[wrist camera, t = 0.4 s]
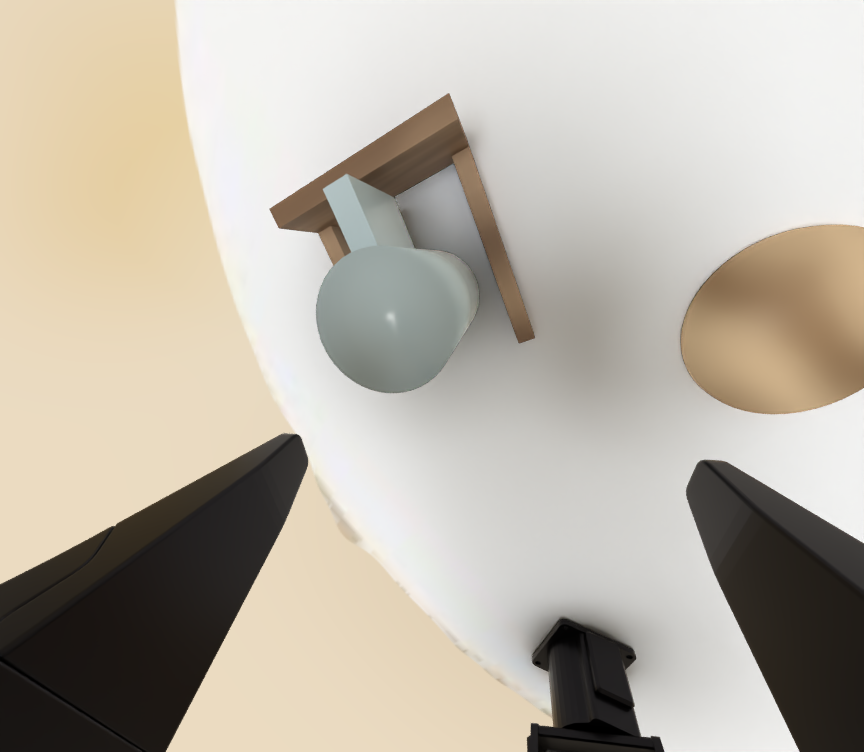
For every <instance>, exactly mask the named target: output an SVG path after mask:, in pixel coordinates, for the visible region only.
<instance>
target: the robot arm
mask: <svg viewBox="0 0 864 752" xmlns="http://www.w3.org/2000/svg"><path fill="white" fill-rule="evenodd" d="M307 466H308V457H307V454H306V451H305V448H304V445H303V442H302V439H301V437H300V436H299V435H297V434H287V433H285V434H281V435H279V436H277V437H275V438H273V439H272V440H270V441H268V442H266V443H264V444H262V445H260V446H259V447H257V448H255V449H253V450H251V451H249V452H248V453H246V454H244V455H242V456H240V457H238V458H237V459H235V460H233V461H231V462H229V463H228V464H226V465H224V466H222V467H220V468H218V469H216V470H215V471H213V472H211V473H209V474H207V475H205V476H203V477H202V478H200V479H198V480H196V481H194V482H193V483H191V484H189V485H187V486H185V487H183V488H181V489H180V490H178V491H176V492H174V493H172V494H170V495H169V496H167V497H165V498H163V499H161V500H159V501H158V502H156V503H154V504H152V505H150V506H148V507H147V508H145V509H143V510H141V511H139V512H137V513H135V514H134V515H132V516H130V517H128V518H126V519H124V520H123V521H121V522H119V523H117V524H116V526H112V527H110V528H108V529H106V530H104V531H102V532H100V533H99V534H97V535H95V536H93V537H92V538H89V539H88V540H86V541H84V542H82V543H80V544H78V545H76V546H74V547H72V548H71V549H69V550H67V551H65V552H63V553H61V554H59V555H58V556H56V557H54V558H52V559H50V560H48V561H46V562H44V563H42V564H40V565H38V566H36V567H34V568H32V569H30V570H28V571H26V572H24V573H22V574H20V575H18V576H16V577H14V578H12V579H10V580H8V581H6V582H4V583H2V584H0V752H166V750H167V748H168V746H169V744H170V742H171V740H172V739H173V737H174V735H175V733H176V731H177V729H178V727H179V725H180V723H181V721H182V719H183V717H184V716H185V714H186V712H187V710H188V707H189V706H190V704H191V702H192V700H193V698H194V696H195V694H196V692H197V691H198V688H199V687H200V685H201V683H202V681H203V679H204V677H205V675H206V673H207V671H208V669H209V667H210V665H211V664H212V662H213V660H214V658H215V656H216V654H217V652H218V650H219V648H220V646H221V645H222V643H223V641H224V639H225V637H226V635H227V633H228V631H229V629H230V627H231V625H232V623H233V621H234V620H235V618H236V616H237V614H238V612H239V610H240V608H241V606H242V604H243V602H244V600H245V598H246V597H247V595H248V593H249V591H250V589H251V587H252V585H253V583H254V581H255V579H256V577H257V575H258V574H259V572H260V569H261V568H262V566H263V564H264V562H265V560H266V558H267V556H268V554H269V553H270V551H271V549H272V547H273V545H274V543H275V541H276V539H277V537H278V535H279V533H280V531H281V529H282V527H283V525H284V523H285V521H286V518H287V516H288V514H289V512H290V509H291V507H292V504H293V501H294V499H295V497H296V494H297V492H298V489H299V487H300V484H301V482H302V479H303V477H304V474H305V472H306V469H307ZM686 496H687V500H688V503H689V506H690V509H691V511H692V514H693V517H694V520H695V522H696V525H697V528H698V531H699V534H700V536H701V539H702V542H703V545H704V547H705V550H706V553H707V556H708V559H709V561H710V564H711V566H712V569H713V571H714V574H715V576H716V578H717V580H718V583H719V585H720V587H721V589H722V591H723V593H724V595H725V597H726V600H727V602H728V604H729V606H730V608H731V610H732V612H733V614H734V616H735V618H736V620H737V622H738V625H739V627H740V629H741V631H742V633H743V635H744V637H745V639H746V641H747V643H748V645H749V647H750V649H751V652H752V654H753V656H754V658H755V660H756V662H757V664H758V666H759V668H760V670H761V672H762V674H763V677H764V679H765V681H766V683H767V685H768V687H769V689H770V691H771V693H772V695H773V697H774V699H775V701H776V704H777V706H778V708H779V710H780V712H781V714H782V716H783V718H784V720H785V722H786V724H787V726H788V729H789V731H790V733H791V735H792V737H793V739H794V741H795V743H796V745H797V747H798V749H799V751H800V752H864V543H862V542H860V541H859V540H857V539H855V538H854V537H852V536H850V535H849V534H847V533H845V532H844V531H842V530H840V529H839V528H837V527H835V526H834V525H832V524H830V523H829V522H827V521H825V520H823V519H822V518H820V517H818V516H817V515H815V514H813V513H812V512H810V511H808V510H807V509H805V508H803V507H802V506H800V505H798V504H797V503H795V502H793V501H791V500H790V499H788V498H786V497H785V496H783V495H781V494H780V493H778V492H776V491H775V490H773V489H771V488H770V487H768V486H766V485H765V484H763V483H761V482H760V481H758V480H756V479H754V478H753V477H751V476H749V475H748V474H746V473H744V472H743V471H741V470H739V469H738V468H736V467H734V466H733V465H731V464H729V463H727V462H725V461H717V460H701V461H699V462H698V463H697V465H696V467H695V469H694V472H693V474H692V476H691V479H690V481H689V483H688V485H687V489H686ZM635 660H636V655H635V652H634V650H633V649H631V648H629V647H627V646H624V645H622V644H620V643H618V642H615V641H613V640H611V639H609V638H606V637H604V636H602V635H600V634H597V633H595V632H593V631H591V630H588V629H586V628H584V627H582V626H579V625H577V624H575V623H573V622H570V621H568V620H565V619H562V620H560V621H559V622H558V623H557V624H556V626H555V627H554V628H553V630H552V631H551V632H550V634H549V635H548V636H547V637H546V639H545V640H544V641H543V643H542V644H541V645H540V647H539V648H538V649H537V650H536V652H535V653H534V654H533V656H532V663H533V664H534V665H535V666H537V667H539V668H541V669H543V670H546V671H548V672H549V682H550V694H551V705H552V717H553V727H549V726H540V725H539V724H537V723H531V735H530V736H529V737H527V749H528V750H527V752H664V749H663V746H662V743H661V740H660V737H656V736H651V738H649V737H641V734H640V730H639V726H638V723H637V719H636V715H635V711H634V708H633V707H634V706H635V705H634V700H633V697H632V693H631V689H630V686H629V682H628V678H627V675H626V671H625V670H626V669H627V668H628V667H629V666H630V665H631V664H632V663H633V662H634V661H635Z"/></svg>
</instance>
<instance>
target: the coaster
mask: <svg viewBox="0 0 864 752" xmlns="http://www.w3.org/2000/svg"><path fill="white" fill-rule="evenodd" d="M681 351H682V355H683V360H684V363H685V365H686V367H687V370H688V372H689V373H690V375H691V376H692V378H693V379H694V381H695V382H696V383H697V384H698V385H699V386H700V387H701V388H702V389H703V390H705V391H706V392H707V393H708V394H710V395H711V396H712V397H714V398H716V399H717V400H719V401H721V402H722V403H724V404H727V405H729V406H731V407H734V408H737V409H740V410H744V411H748V412H754V413H762V414H788V413H796V412H802V411H807V410H812V409H816V408H819V407H823V406H826V405H829V404H832V403H834V402H837V401H839V400H842V399H844V398H846V397H848V396H850V395H852V394H854V393H856V392H858V391H859V390H861V389H863V388H864V228H863V227H859V226H850V225H821V226H812V227H805V228H799V229H795V230H791V231H787V232H783V233H780V234H777V235H774V236H771V237H769V238H766V239H764V240H762V241H760V242H757V243H755V244H753V245H751V246H749V247H748V248H746V249H744V250H743V251H741V252H739V253H738V254H736V255H735V256H734V257H732V258H731V259H730V260H728V261H727V262H725V263H724V264H723V265H722V266H721V267H720V268H719V269H718V270H716V271H715V272H714V273H713V274H712V275H711V276H710V278H709V279H708V280H707V281H706V282H705V283H704V284H703V286H702V287H701V288H700V290H699V291H698V293H697V294H696V295H695V297H694V299H693V301H692V303H691V304H690V306H689V309H688V311H687V314H686V316H685V319H684V323H683V327H682V334H681Z"/></svg>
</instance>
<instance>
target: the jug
mask: <svg viewBox="0 0 864 752" xmlns="http://www.w3.org/2000/svg"><path fill="white" fill-rule="evenodd" d="M323 191H324V193H325V195H326V197H327V200H328V202H329V204H330V206H331V208H332V211H333V213H334V215H335V217H336V219H337V222H338V224H339V226H340V228H341V230H342V233H343V235H344V237H345V239H346V241H347V244H348V246H349V248H350V250H351V253H349V254H348V255H346V256H344V257H343V258H342V259H340V260H339V261H338V262H337V263H336V264H335V265H334V266H333V267H332V268H331V269H330V271H329V272H328V274H327V275H326V277H325V278H324V281H323V283H322V285H321V287H320V291H319V294H318V299H317V305H316V319H317V327H318V332H319V335H320V338H321V341H322V344H323V346H324V348H325V350H326V352H327V354H328V355H329V357H330V358H331V360H332V361H333V363H334V364H335V365H336V366H337V367H338V368H339V370H340V371H341V372H342V373H344V374H345V375H346V376H347V377H348V378H350V379H351V380H353V381H354V382H356V383H357V384H359V385H361V386H363V387H366V388H368V389H371V390H374V391H378V392H384V393H401V392H407V391H411V390H414V389H416V388H419V387H421V386H423V385H424V384H426V383H428V382H429V381H430V380H432V379H433V378H434V377H435V376H436V375H437V374H438V373H439V372H440V371H441V369H442V368H443V367H444V365H445V364H446V362H447V361H448V359H449V358H450V356H451V354H452V353H453V351H454V350H455V348H456V346H457V345H458V343H459V341H460V340H461V338H462V337H463V335H464V333H465V332H466V330H467V329H468V327H469V325H470V324H471V322H472V321H473V319H474V317H475V315H476V312H477V309H478V305H479V288H478V284H477V280H476V278H475V276H474V274H473V272H472V270H471V269H470V268H469V266H468V265H467V264H466V263H465V262H464V261H463V260H461V259H460V258H459V257H457V256H455V255H453V254H451V253H448V252H445V251H439V250H427V249H415V247H414V245H413V242H412V240H411V237H410V235H409V233H408V230H407V228H406V225H405V223H404V220H403V218H402V215H401V213H400V211H399V208H398V206H397V203H396V201H395V198H394V197H392V196H390V195H388V194H386V193H384V192H382V191H380V190H378V189H376V188H374V187H372V186H370V185H368V184H366V183H364V182H362V181H360V180H358V179H356V178H354V177H352V176H350V175H348V174H346V175H344V176H343V177H341V178H339V179H338V180H336V181H335V182H333V183H331V184H330V185H328V186H327V187H325V188H323Z"/></svg>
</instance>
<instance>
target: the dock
mask: <svg viewBox="0 0 864 752" xmlns="http://www.w3.org/2000/svg"><path fill="white" fill-rule="evenodd" d="M453 163H454V164H455V167H456V170H457V173H458V176H459V178H460V181H461V184H462V187H463V189H464V192H465V195H466V198H467V201H468V203H469V206H470V209H471V212H472V214H473V217H474V220H475V223H476V226H477V228H478V231H479V234H480V237H481V240H482V242H483V245H484V248H485V251H486V253H487V256H488V259H489V262H490V265H491V267H492V270H493V273H494V276H495V278H496V281H497V284H498V287H499V290H500V292H501V295H502V298H503V301H504V304H505V306H506V309H507V312H508V315H509V317H510V320H511V323H512V326H513V329H514V331H515V334H516V337H517V340H518V343H522V342H525V341H528V340H531V339H534V338H535V336H534V332H533V330H532V327H531V324H530V321H529V318H528V315H527V312H526V309H525V306H524V304H523V301H522V298H521V295H520V292H519V289H518V286H517V283H516V280H515V277H514V275H513V272H512V269H511V266H510V263H509V260H508V257H507V254H506V251H505V248H504V246H503V243H502V240H501V237H500V234H499V231H498V228H497V225H496V222H495V220H494V217H493V214H492V211H491V208H490V205H489V202H488V199H487V196H486V193H485V191H484V188H483V185H482V182H481V179H480V176H479V173H478V170H477V167H476V165H475V162H474V159H473V156H472V153H471V150H470V147H469V144H468V141H467V138H466V136H465V133H464V130H463V128H462V125H461V122H460V120H459V117H458V115H457V112H456V110H455V107H454V104H453V102H452V99H451V97H450V94H449V93H448V94H447V95H445V96H444V97H442V98H440V99H439V100H437V101H436V102H434V103H433V104H431V105H430V106H428V107H427V108H425V109H423V110H422V111H420V112H419V113H417V114H416V115H414V116H413V117H411V118H410V119H408V120H406V121H405V122H403V123H402V124H400V125H399V126H397V127H396V128H394V129H393V130H391V131H389V132H388V133H386V134H385V135H383V136H382V137H380V138H379V139H377V140H375V141H374V142H372V143H371V144H369V145H368V146H366V147H365V148H363V149H362V150H360V151H358V152H357V153H355V154H354V155H352V156H351V157H349V158H348V159H346V160H345V161H343V162H341V163H340V164H338V165H337V166H335V167H334V168H332V169H331V170H329V171H327V172H326V173H324V174H323V175H321V176H320V177H318V178H317V179H315V180H314V181H312V182H310V183H309V184H307V185H306V186H304V187H303V188H301V189H300V190H298V191H297V192H295V193H293V194H292V195H290V196H289V197H287V198H286V199H284V200H283V201H281V202H280V203H278V204H276V205H275V206H273V207H272V208H270V211H271V213H272V215H273V217H274V219H275V221H276V223H277V225H278V227H279V228H281V229H289V230H297V231H305V232H314V233H318V234H319V236H320V238H321V240H322V242H323V244H324V246H325V249H326V251H327V253H328V255H329V257H330V259H331V261H332V263H333V266H334V265H335V264H336V263H337V262H338V261H339V260H340V259H342V258H343V257H344V256H346V255H348V254H349V253H351V250H350V248H349V246H348V244H347V242H346V239H345V237H344V235H343V233H342V231H341V228H340V226H339V224H338V222H337V219H336V217H335V215H334V213H333V211H332V208H331V206H330V204H329V202H328V200H327V197H326V195H325V193H324V191H323V188H325V187H327V186H328V185H330V184H331V183H333V182H335V181H336V180H338V179H339V178H341V177H343V176H344V175H346V174H348V175H350V176H352V177H354V178H356V179H358V180H360V181H362V182H364V183H366V184H368V185H370V186H372V187H374V188H376V189H378V190H380V191H382V192H384V193H386V194H388V195H390V196H392V197H395V196H396V195H398V194H400V193H402V192H403V191H405V190H407V189H409V188H411V187H412V186H414V185H416V184H418V183H419V182H421V181H423V180H425V179H426V178H428V177H430V176H432V175H434V174H435V173H437V172H439V171H441V170H442V169H444V168H446V167H448V166H449V165H451V164H453Z"/></svg>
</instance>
